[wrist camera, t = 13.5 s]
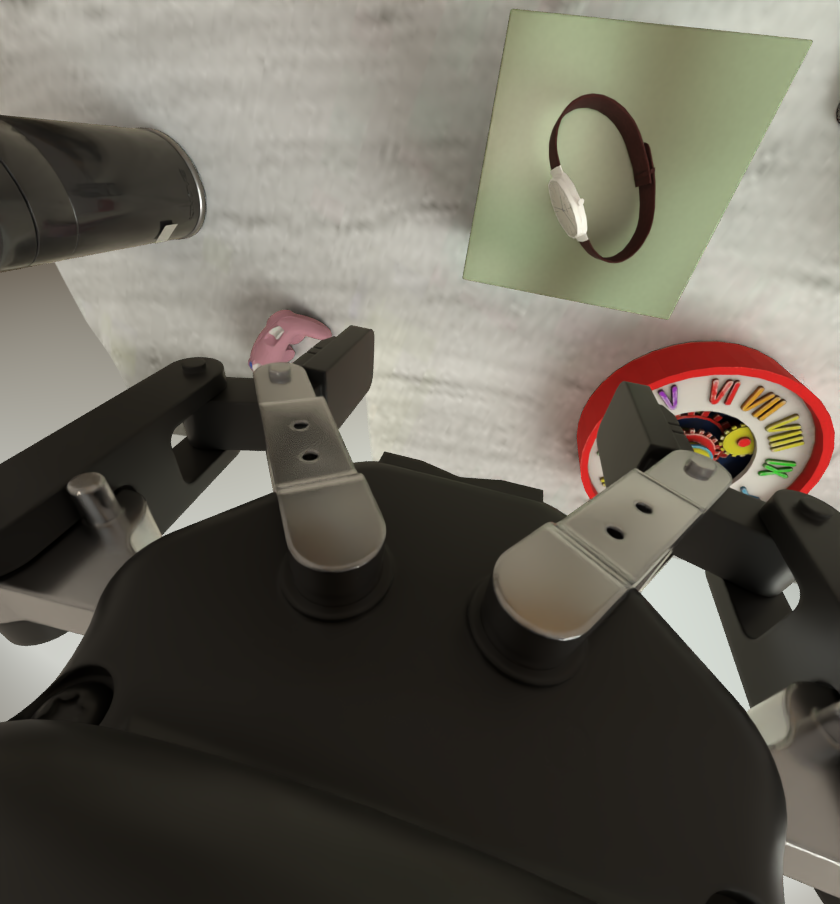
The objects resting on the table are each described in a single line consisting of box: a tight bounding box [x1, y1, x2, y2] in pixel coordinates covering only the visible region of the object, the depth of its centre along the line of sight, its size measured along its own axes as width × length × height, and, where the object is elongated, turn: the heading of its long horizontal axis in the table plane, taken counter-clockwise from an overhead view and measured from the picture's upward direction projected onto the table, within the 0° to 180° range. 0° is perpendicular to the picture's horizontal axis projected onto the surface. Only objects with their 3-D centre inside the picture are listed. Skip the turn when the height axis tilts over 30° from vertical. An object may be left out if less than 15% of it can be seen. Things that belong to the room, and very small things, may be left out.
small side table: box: [463, 9, 813, 320], centre depth 26 cm, size 13×12×14 cm
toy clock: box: [577, 341, 835, 502], centre depth 39 cm, size 20×6×20 cm
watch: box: [548, 93, 656, 263], centre depth 19 cm, size 8×5×4 cm, turn 34°
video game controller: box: [248, 310, 332, 372], centre depth 45 cm, size 10×5×7 cm, turn 143°
